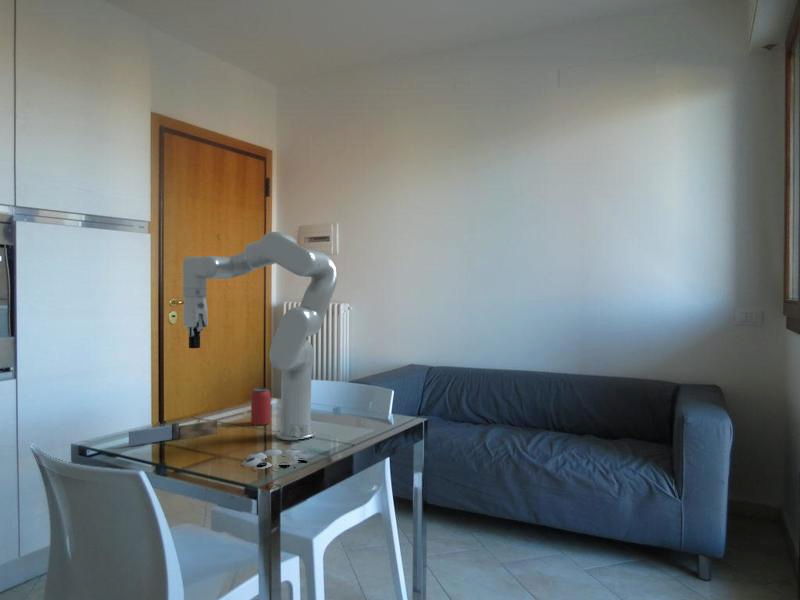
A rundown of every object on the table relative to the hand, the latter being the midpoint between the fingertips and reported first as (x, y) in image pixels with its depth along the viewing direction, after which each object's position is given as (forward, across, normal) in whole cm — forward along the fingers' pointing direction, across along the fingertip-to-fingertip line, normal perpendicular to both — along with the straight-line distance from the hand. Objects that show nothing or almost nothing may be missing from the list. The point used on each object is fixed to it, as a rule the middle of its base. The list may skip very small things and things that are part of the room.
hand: (194, 347), depth 189 cm
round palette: (+28, -51, -3) cm, 58 cm away
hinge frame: (+27, -11, +4) cm, 30 cm away
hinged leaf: (+27, -11, +18) cm, 34 cm away
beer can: (+27, -8, -20) cm, 35 cm away
